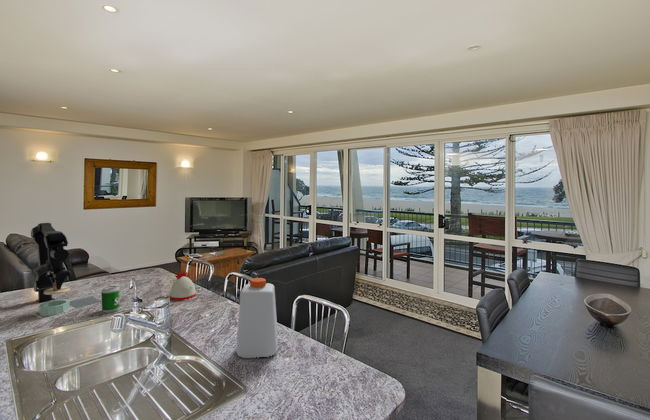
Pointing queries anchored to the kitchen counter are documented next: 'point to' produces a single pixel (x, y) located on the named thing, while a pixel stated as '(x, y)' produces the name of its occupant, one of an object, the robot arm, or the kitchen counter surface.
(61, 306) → the bowl
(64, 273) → the robot arm
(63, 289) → the lid
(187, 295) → the kitchen timer
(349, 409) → the kitchen counter surface
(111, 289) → the soda can
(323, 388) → the kitchen counter surface
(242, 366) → the kitchen counter surface
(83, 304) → the mat
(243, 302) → the plastic bottle
